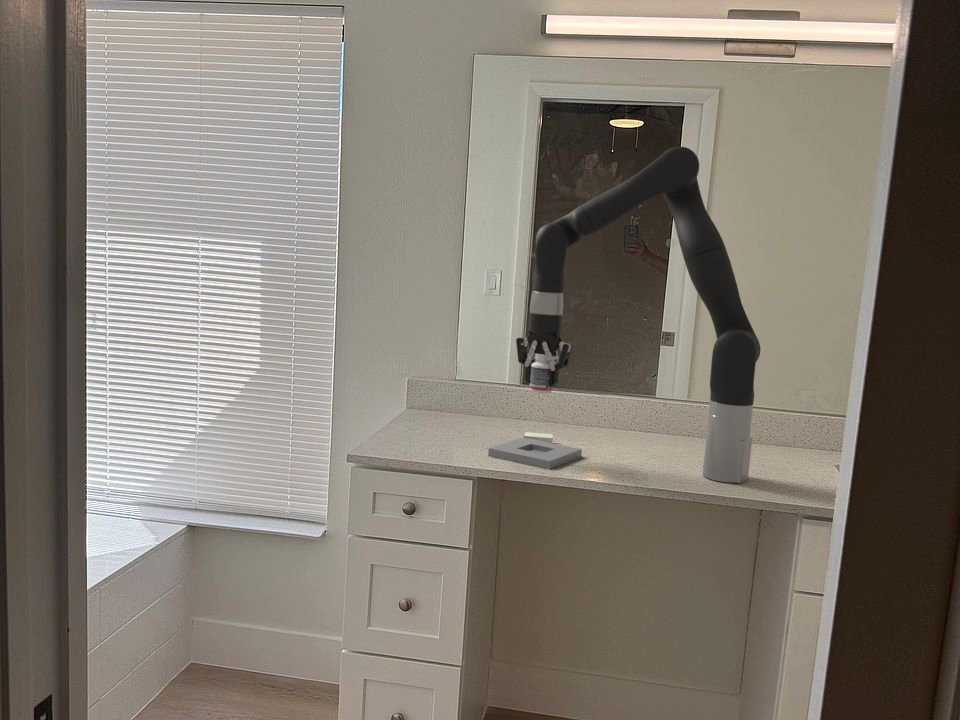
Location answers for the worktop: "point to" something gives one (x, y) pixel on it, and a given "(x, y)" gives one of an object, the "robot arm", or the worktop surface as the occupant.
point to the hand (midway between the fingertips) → (540, 384)
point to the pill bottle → (540, 375)
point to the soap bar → (539, 436)
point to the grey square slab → (535, 452)
